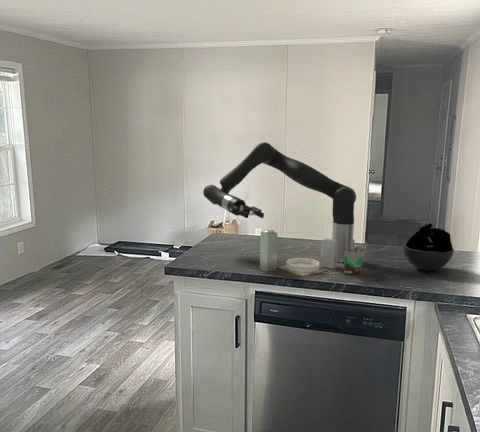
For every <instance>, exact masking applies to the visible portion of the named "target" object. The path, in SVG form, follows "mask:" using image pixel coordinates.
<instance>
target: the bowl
mask: <svg viewBox="0 0 480 432" xmlns="http://www.w3.org/2000/svg"><path fill="white" fill-rule="evenodd" d="M285 265H286V267H287V269H288V270H290V271H293V272H300V273H311V272H316V271H318V270H319V267H320V261H318V260H316V259H313V258H309V257H304V258H303V257H296V258H295V257H294V258H289V259H287V260H286V262H285Z"/></svg>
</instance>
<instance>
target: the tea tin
mask: <svg viewBox="0 0 480 432" xmlns="http://www.w3.org/2000/svg"><path fill="white" fill-rule="evenodd" d="M278 235H279V234H278V232H276V231H275V230H273V229H264V230H263V231H260V246H259V247H260V248H259V250H260V251H259V270H261V271H264V272H265V273H268V272H269V273H270V272H273V271H277V269H278Z"/></svg>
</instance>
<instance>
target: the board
mask: <svg viewBox="0 0 480 432" xmlns="http://www.w3.org/2000/svg"><path fill="white" fill-rule="evenodd" d="M277 269H281V270H283V271H285V272H289V273H291V274H294V275H297V276H299V277H303V276H310V275H313V274H319V273H324V272H328V271H329V269H328V268H325V267H321V266H319V270H318V271H316V272H311V273H300V272H293V271H290V270H288V269H287V267H286V264H284V265H280V266H278V265H277Z"/></svg>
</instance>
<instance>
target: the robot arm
mask: <svg viewBox="0 0 480 432" xmlns="http://www.w3.org/2000/svg"><path fill="white" fill-rule="evenodd" d="M261 164H264V165H267V166H268V167H272V168H274V169H276V170H278V171H280V172H281V173H283V174H284V175H285V176H287V177H288V178H289V179H291V180H292V181H294V182H296V183H297V184H299V185H300V186H303V187H305V188H307V189H309V190H313V191H315V192H319V193H322V194H324V195H326V196H327V197H329V198H330V199H332V215H331V216H332V234H331V235H332V236H331V237H332V238H331V239H335V240H338V243H337V263H344V251H350V250H353V249H355V239H354V226H355V216H354V215H355V214H354V212H355V210H354V209H355V203H356V201H357V194H356V192H355V190H354V189H353V188H352V187H350V186H347V185H346V184H345V185H344V184H343V183H340V182H338V181H335V180H333V179H331V178H330V177H328V176H327V175H325V174H324V173H322V172H320V171H318V170H317V169H315V168H313V166H311V165H309V164H307V163H304V162H302V161H299V160H297V159H295V158H292V157H289V156H286V155H285V154H283V153H282V152H280V151H278V150H277V149H276V148H275V147H274V146H273V145H271V144H270V143H269V142H263V141H262V142H260V143H258V144H257V145H256V146H255V147H254V148H253V149H252V150H251V151H250V153H249V154H248V155H247V156H246V157H245V158H244V159H243V160H242V161H241V162H240V163H239V164H238V165H237V166H235V167H234V168H233V169H231V170H230V171H229V172H228V173H226V174H225V175H224V176H223V177H221V178H220V180H219V184H220V186H221V188H219V187H218V186H216V185H214V184H209V185H205V187H204V188H203V191H202V194H203V197H204V198H206V199H207V200H208V201H209V202H210V203H212V204H213V205H217V206H219V207H220V208H222V209H224V210H225V211H227V212H228V213H230V214H232V215H235V216H237V217H238V216H240V217H242V218H246V219H248V218H249V216H257V217H258V218H261V219H264V216H265V213H264V212H262V209H260V208H258V207H257V206H254V205H252V206H249V205H247V204H246V202H245V200H244V199H241V198H239V197H237V196H235V195H232V194H230V192H231V191H232V190H233V189H235V188H236V187H237V186H238V185H239V184H240V183H241V182H242V181H244V179H245V178H246V177H247V176H248V175H249V173H251V171H253V170H254V169H255V168H256V167H258V166H259V165H261Z"/></svg>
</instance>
